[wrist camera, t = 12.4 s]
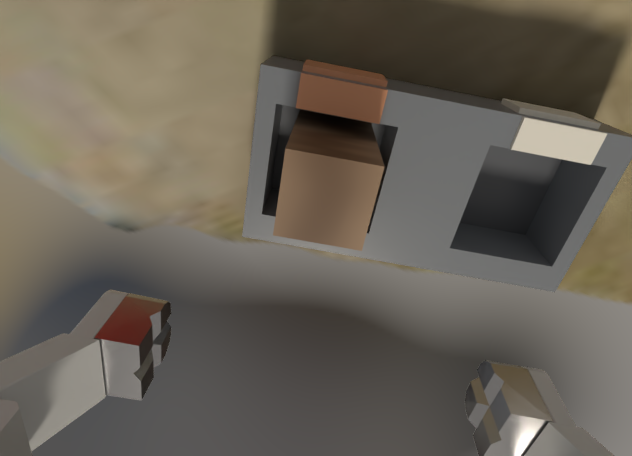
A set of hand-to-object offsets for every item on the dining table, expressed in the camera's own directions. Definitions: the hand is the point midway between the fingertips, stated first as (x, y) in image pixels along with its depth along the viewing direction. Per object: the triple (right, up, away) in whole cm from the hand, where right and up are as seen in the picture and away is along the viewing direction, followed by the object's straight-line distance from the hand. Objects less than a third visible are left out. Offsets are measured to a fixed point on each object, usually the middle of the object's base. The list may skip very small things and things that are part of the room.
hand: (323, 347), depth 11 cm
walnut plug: (+1, +8, +16) cm, 18 cm away
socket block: (+6, +7, +16) cm, 19 cm away
